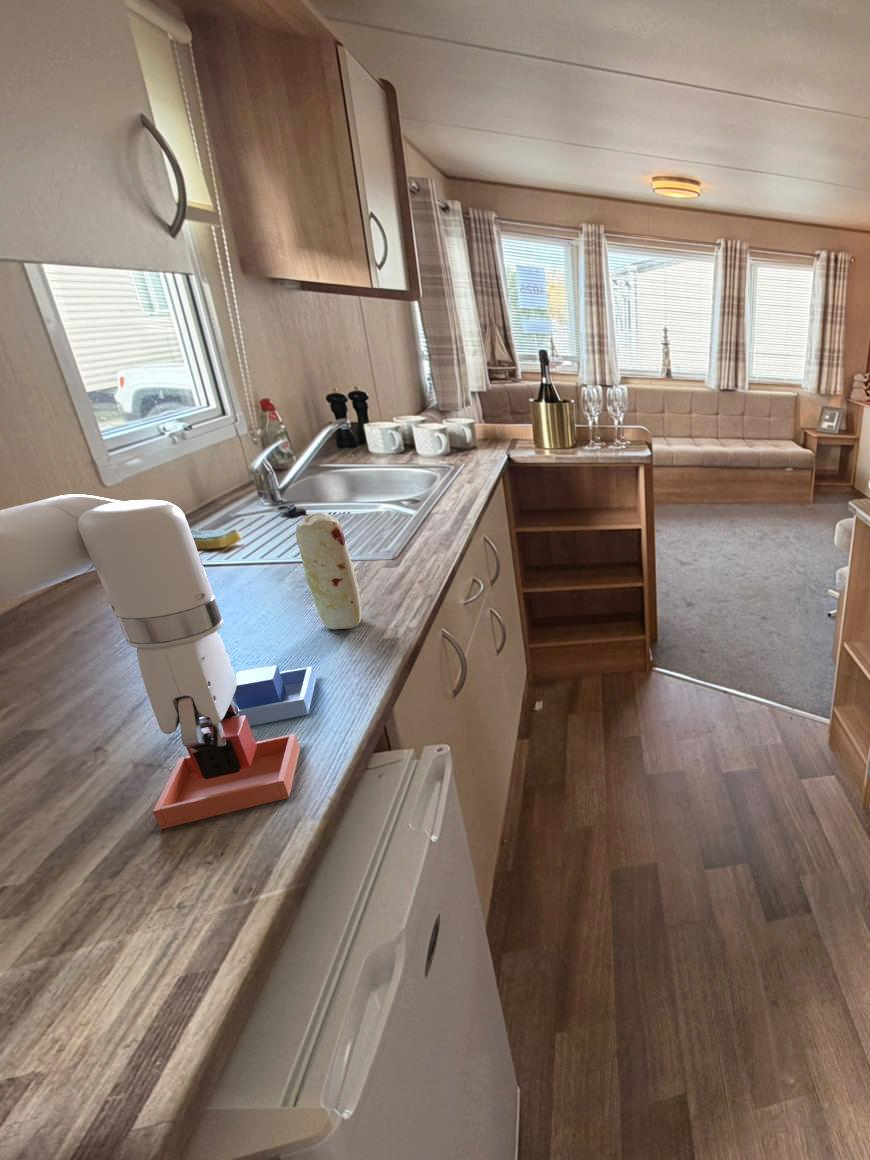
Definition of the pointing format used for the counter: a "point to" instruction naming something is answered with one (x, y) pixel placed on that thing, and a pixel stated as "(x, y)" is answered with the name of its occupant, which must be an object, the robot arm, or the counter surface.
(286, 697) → the blue tray
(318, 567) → the food model
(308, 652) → the counter surface
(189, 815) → the red tray
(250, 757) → the red block
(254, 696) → the blue block
